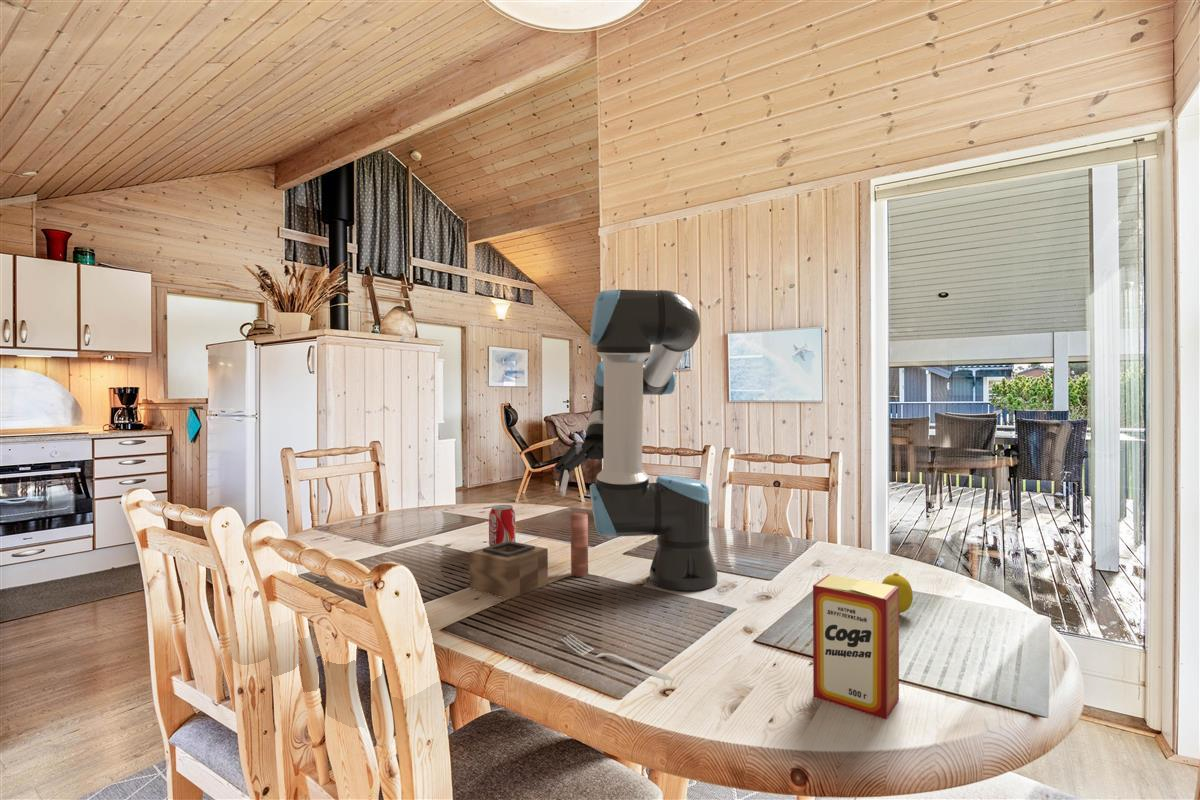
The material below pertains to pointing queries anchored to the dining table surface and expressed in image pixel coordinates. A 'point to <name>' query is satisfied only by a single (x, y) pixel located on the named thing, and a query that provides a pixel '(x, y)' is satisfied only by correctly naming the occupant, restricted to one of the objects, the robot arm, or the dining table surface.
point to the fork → (639, 667)
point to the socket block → (508, 569)
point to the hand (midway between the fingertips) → (588, 494)
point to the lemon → (901, 590)
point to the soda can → (501, 524)
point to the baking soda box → (856, 644)
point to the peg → (579, 544)
